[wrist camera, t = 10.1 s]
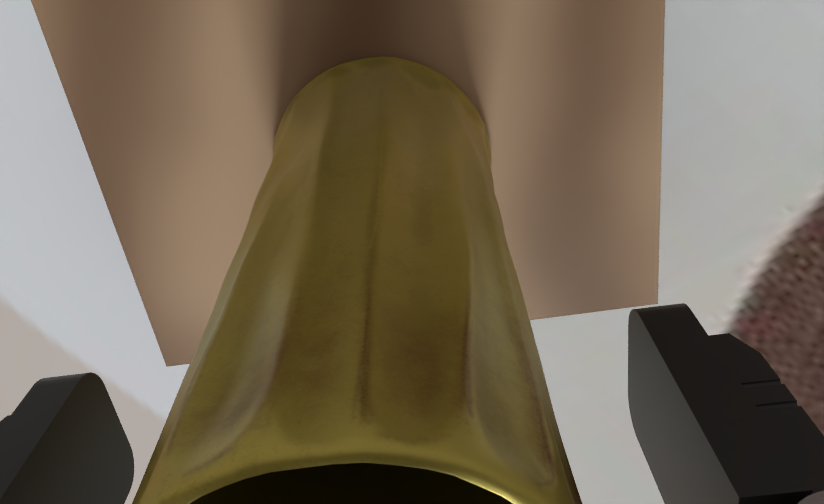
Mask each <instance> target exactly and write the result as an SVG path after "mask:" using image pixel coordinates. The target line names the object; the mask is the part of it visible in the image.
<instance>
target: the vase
mask: <svg viewBox="0 0 824 504" xmlns="http://www.w3.org/2000/svg"><path fill="white" fill-rule="evenodd" d="M491 165H492V157H491V148H490V143H489V138H488V135H487V131H486V128H485V124H484V122H483V120H482V119H481V117H480V115H479V113H478V111H477V110H476V108H475V106H474V105H473V103H472V102H471V101H470V100H469V98H468V97H467V96H466V95H465V94H464V93H463V91H462V90H461V89H460V88H459V87H458V86H457V85H455V84H454V83H453V82H452V81H451V80H450V79H448V78H447V77H445V76H443V75H442V74H440V73H439V72H437V71H435V70H433V69H431V68H429V67H427V66H424V65H422V64H419V63H416V62H413V61H409V60H405V59H401V58H397V57H384V56H382V57H371V58H365V59H359V60H354V61H350V62H346V63H342V64H339V65H337V66H335V67H332V68H330V69H328V70H326V71H325V72H323V73H321V74H320V75H318V76H316V77H315V78H314V79H313V80H311V81H310V82H309V83H308V84H306V85H305V86H304V87H303V88H302V89H301V90H300V91H299V92H298V93H297V94H296V95H295V97H294V98H293V100H292V101H291V102H290V104H289V105H288V107H287V109H286V111H285V113H284V115H283V117H282V119H281V121H280V124H279V127H278V130H277V133H276V136H275V141H274V147H273V158H272V163H271V165H270V167H269V170H268V172H267V174H266V176H265V178H264V181H263V183H262V185H261V187H260V190H259V192H258V194H257V197H256V199H255V202H254V205H253V208H252V211H251V214H250V217H249V221H248V224H247V226H246V229H245V232H244V235H243V237H242V240H241V242H240V245H239V247H238V249H237V252H236V254H235V256H234V258H233V260H232V263H231V265H230V267H229V269H228V271H227V274H226V276H225V278H224V281H223V284H222V286H221V289H220V292H219V294H218V297H217V300H216V303H215V306H214V309H213V311H212V314H211V316H210V319H209V321H208V323H207V326H206V328H205V330H204V333H203V335H202V337H201V339H200V342H199V344H198V346H197V349H196V351H195V353H194V356H193V358H192V361H191V363H190V365H189V368H188V370H187V372H186V375H185V377H184V379H183V382H182V384H181V387H180V389H179V391H178V394H177V396H176V399H175V401H174V403H173V406H172V408H171V411H170V413H169V416H168V418H167V421H166V423H165V426H164V428H163V431H162V433H161V435H160V438H159V440H158V443H157V445H156V447H155V450H154V452H153V455H152V457H151V459H150V462H149V464H148V467H147V469H146V472H145V474H144V477H143V479H142V481H141V484H140V487H139V489H138V491H137V493H136V496H135V498H134V501H133V503H132V504H582V502H581V499H580V496H579V493H578V490H577V487H576V484H575V481H574V477H573V474H572V471H571V468H570V465H569V462H568V458H567V455H566V452H565V449H564V446H563V443H562V439H561V436H560V433H559V429H558V426H557V422H556V419H555V415H554V412H553V408H552V404H551V400H550V396H549V392H548V388H547V385H546V381H545V377H544V373H543V369H542V365H541V361H540V357H539V354H538V350H537V346H536V343H535V339H534V335H533V331H532V328H531V324H530V320H529V316H528V313H527V309H526V305H525V301H524V298H523V294H522V291H521V287H520V284H519V280H518V277H517V273H516V270H515V267H514V264H513V261H512V257H511V254H510V251H509V248H508V244H507V240H506V236H505V232H504V227H503V221H502V217H501V213H500V209H499V205H498V202H497V199H496V196H495V191H494V183H493V176H492V172H491Z"/></svg>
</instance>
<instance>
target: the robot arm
mask: <svg viewBox="0 0 824 504" xmlns="http://www.w3.org/2000/svg"><path fill="white" fill-rule="evenodd" d="M628 399H629V408H630V414H631V419H632V423H633V427H634V430H635V433H636V436H637V439H638V441H639V443H640V446H641V448H642V451H643V453H644V455H645V458H646V460H647V462H648V465H649V467H650V470H651V472H652V474H653V477H654V479H655V481H656V484H657V486H658V489H659V491H660V493H661V496H662V498H663V500H664V503H665V504H824V436H823V434H822V433H821V432H820V430H819V429H818V428H817V427H816V425H815V424H814V423H813V421H812V420H811V419H810V417H809V416H808V415H807V413H806V412H805V411H804V410H803V408H802V407H801V406H798V405H797V400H796V399H795V398H794V396H793V395H792V394H791V393H790V391H789V390H788V389H787V387H786V386H785V385H784V384H781V382H780V378H779V377H778V376H777V374H776V373H775V372H774V370H773V369H772V368H771V366H770V365H769V364H768V362H767V361H766V360H765V359H764V357H763V356H762V355H761V353H759V352H758V351H756V350H754V349H753V348H751V347H750V346H748V345H747V344H745V343H743V342H742V341H740V340H739V339H737V338H735V337H734V336H732V335H731V334H729V333H727V334H719V335H710V336H708V335H707V333H706V332H705V330H704V329H703V327H702V326H701V324H700V323H699V321H698V320H697V318H696V317H695V315H694V314H693V312H692V311H691V310H690V308H689V307H688V306H687V305H686V304H684V303H683V304H674V305H666V306H658V307H649V308H641V309H633V310H631V312H630V315H629V325H628ZM133 475H134V458H133V453H132V449H131V446H130V444H129V441H128V439H127V437H126V434H125V432H124V430H123V427H122V425H121V423H120V420H119V418H118V416H117V413H116V411H115V409H114V406H113V404H112V401H111V399H110V397H109V394H108V392H107V390H106V388H105V385H104V383H103V381H102V380H101V378H100V377H99V376H98V375H96V374H95V373H85V374H75V375H67V376H59V377H50V378H43V379H40V380H39V381H37V382H36V383H35V384H34V385H33V387H32V388H31V390H30V391H29V392H28V393H27V395H26V396H25V397H24V399H23V400H22V401H21V403H20V404H19V405H18V407H17V408H16V409H15V411H14V412H13V414H12V415H10V416H7V417H5V418H4V419H3V420H2V421H0V504H124V503H125V500H126V498H127V496H128V494H129V491H130V489H131V486H132V482H133V477H134V476H133Z"/></svg>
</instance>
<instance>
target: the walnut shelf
mask: <svg viewBox="0 0 824 504" xmlns="http://www.w3.org/2000/svg"><path fill="white" fill-rule="evenodd" d="M31 2H32V5H33V7H34V10H35V13H36V15H37V18H38V21H39V23H40V26H41V29H42V31H43V34H44V37H45V40H46V42H47V45H48V48H49V50H50V53H51V56H52V58H53V61H54V64H55V67H56V69H57V72H58V75H59V77H60V80H61V83H62V85H63V88H64V91H65V94H66V96H67V99H68V102H69V104H70V107H71V110H72V112H73V115H74V118H75V120H76V123H77V126H78V129H79V131H80V134H81V137H82V139H83V142H84V145H85V147H86V150H87V153H88V156H89V158H90V161H91V164H92V166H93V169H94V172H95V174H96V177H97V180H98V182H99V185H100V188H101V191H102V193H103V196H104V199H105V201H106V204H107V207H108V209H109V212H110V215H111V218H112V220H113V223H114V226H115V228H116V231H117V234H118V236H119V239H120V242H121V245H122V247H123V250H124V253H125V255H126V258H127V261H128V263H129V266H130V269H131V271H132V274H133V277H134V280H135V282H136V285H137V288H138V290H139V293H140V296H141V298H142V301H143V304H144V307H145V309H146V312H147V315H148V317H149V320H150V323H151V325H152V328H153V331H154V334H155V336H156V339H157V342H158V344H159V347H160V350H161V352H162V355H163V358H164V360H165V363H166V366H175V365H183V364H190V363H191V361H192V358H193V356H194V353H195V351H196V349H197V346H198V344H199V342H200V339H201V337H202V335H203V333H204V330H205V328H206V326H207V323H208V321H209V319H210V316H211V314H212V311H213V309H214V306H215V303H216V300H217V297H218V294H219V292H220V289H221V286H222V284H223V281H224V278H225V276H226V274H227V271H228V269H229V267H230V265H231V263H232V260H233V258H234V256H235V254H236V252H237V249H238V247H239V245H240V242H241V240H242V237H243V235H244V232H245V229H246V226H247V224H248V221H249V217H250V214H251V211H252V208H253V205H254V202H255V199H256V197H257V194H258V192H259V190H260V187H261V185H262V183H263V181H264V178H265V176H266V174H267V172H268V170H269V167H270V165H271V163H272V158H273V147H274V141H275V136H276V133H277V130H278V127H279V124H280V121H281V119H282V117H283V115H284V113H285V111H286V109H287V107H288V105H289V104H290V102H291V101H292V100H293V98H294V97H295V95H296V94H297V93H298V92H299V91H300V90H301V89H302V88H303V87H304V86H305V85H306V84H308V83H309V82H310V81H311V80H313V79H314V78H315V77H316V76H318V75H320V74H321V73H323V72H325V71H326V70H328V69H330V68H332V67H335V66H337V65H339V64H342V63H346V62H350V61H354V60H359V59H365V58H371V57H382V56H384V57H397V58H401V59H405V60H409V61H413V62H416V63H419V64H422V65H424V66H427V67H429V68H431V69H433V70H435V71H437V72H439V73H440V74H442V75H443V76H445V77H447V78H448V79H450V80H451V81H452V82H453V83H454V84H455V85H457V86H458V87H459V88H460V89H461V90H462V91H463V93H464V94H465V95H466V96H467V97H468V98H469V100H470V101H471V102H472V103H473V105H474V106H475V108H476V110H477V111H478V113H479V115H480V117H481V119H482V120H483V122H484V124H485V128H486V131H487V135H488V138H489V143H490V148H491V157H492V165H491V172H492V176H493V183H494V191H495V196H496V199H497V202H498V205H499V209H500V213H501V217H502V221H503V227H504V232H505V236H506V240H507V244H508V248H509V251H510V254H511V257H512V261H513V264H514V267H515V270H516V273H517V277H518V280H519V284H520V287H521V291H522V294H523V298H524V301H525V305H526V309H527V313H528V316H529V320H534V319H542V318H550V317H558V316H566V315H573V314H581V313H589V312H597V311H605V310H612V309H620V308H628V307H636V306H644V305H651V304H658V268H659V226H660V184H661V143H662V101H663V59H664V17H665V0H31Z"/></svg>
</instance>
